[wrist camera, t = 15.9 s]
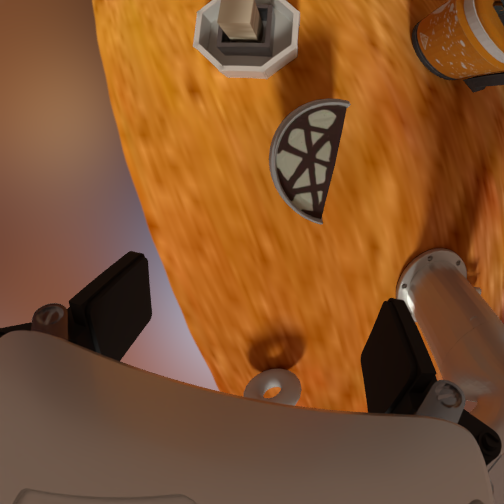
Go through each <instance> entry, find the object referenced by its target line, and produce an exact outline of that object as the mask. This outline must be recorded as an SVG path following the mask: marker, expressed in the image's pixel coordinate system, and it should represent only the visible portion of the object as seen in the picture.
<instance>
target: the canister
mask: <svg viewBox="0 0 504 504" xmlns="http://www.w3.org/2000/svg"><path fill="white" fill-rule="evenodd" d="M412 42H413V46H414V49H415V52H416V54H417V56H418V57H419V59H420V61H421V62H422V63H423V64H424V66H425V67H426V68H427V69H428V70H430V71H431V72H432V73H433V74H435V75H436V76H438V77H440V78H443V79H447V80H456V79H461V78H466V77H471V76H475V77H472V78H468V79H465V80H463V81H464V82H465V83H466V84H467V85H468V87H469V88H470V89H471V90H472V92H473V93H474V92H477V91H480V90H483V89H485V87H486V86H495V85H504V72H502V71H504V0H449V1H448V2H446V3H445V4H444V5H442V6H441V7H439V8H438V9H437V10H435V11H434V12H432V13H431V14H430V15H428V16H427V17H426V18H424V19H423V20H422V21H420V22H419V23H418V24H417V25H416V26H415V27H414V30H413V33H412ZM495 72H501V73H495ZM489 73H494V74H489ZM483 74H487V75H483ZM477 75H481V76H477Z"/></svg>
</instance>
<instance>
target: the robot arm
mask: <svg viewBox="0 0 504 504" xmlns="http://www.w3.org/2000/svg"><path fill="white" fill-rule="evenodd" d="M480 294H481V289H480V288H479V287H473V286H472V285H471V284H470V282H469V281H468V280H467V270H466V267H465V264H464V262H463V260H462V259H461V258H460V257H459V256H458V255H457V254H456V253H455V252H453V251H451V250H449V249H444V248H437V249H432V250H428V251H426V252H424V253H422V254H421V255H419V256H418V257H416V258H415V259H414V260H413V261H412V262H411V263H410V264H409V265H408V266H407V267H406V269H405V270H404V271H403V273H402V275H401V277H400V279H399V282H398V284H397V289H396V299H394V298H390V299H389V300H388V301H384V303H383V304H382V307H381V310H380V312H379V315H378V317H377V319H376V322H375V324H374V327H373V329H372V331H371V334H370V336H369V338H368V340H367V343H366V345H365V347H364V349H363V351H362V354H361V366H362V372H363V378H364V385H365V392H366V399H367V407H368V413H363V412H350V411H337V410H326V409H317V408H308V407H301V406H294V405H287V404H280V403H274V402H268V401H263V400H257V399H252V398H247V397H242V396H237V395H233V394H228V393H224V392H219V391H215V390H211V389H207V388H203V387H199V386H195V385H192V384H188V383H185V382H181V381H178V380H174V379H171V378H168V377H164V376H161V375H158V374H155V373H152V372H148V371H146V370H143V369H140V368H137V367H134V366H131V365H128V364H126V363H123V362H120V360H121V359H122V357H123V356H124V355H125V353H126V352H127V351H128V349H129V348H130V346H131V345H132V344H133V342H134V341H135V340H136V338H137V337H138V336H139V334H140V333H141V332H142V330H143V329H144V327H145V326H146V325H147V324H148V322H149V321H150V319H151V316H152V308H151V297H150V285H149V271H148V260H147V259H146V258H145V256H144V254H142V253H137V252H132V251H130V252H128V253H127V254H125V255H124V256H123V257H122V258H120V259H119V260H118V261H117V262H116V263H114V264H113V265H111V266H110V267H109V268H108V269H107V270H105V271H104V272H103V273H102V274H100V275H99V276H98V277H97V278H95V280H93V281H92V282H91V283H89V284H88V285H87V286H86V287H85V288H83V289H82V290H81V291H80V292H79V293H78V294H76V295H75V296H74V297H73V298H72V299H71V300H69V304H70V307H69V308H68V309H66V307H64V306H63V305H61V304H57V303H56V304H55V303H54V304H47V305H45V306H42V307H41V308H39V309H38V310H36V312H35V313H34V315H33V318H32V323H26V324H21V325H16V326H10V327H5V328H0V504H504V324H503V323H502V322H501V320H500V319H499V318H498V316H497V315H496V314H495V313H494V311H493V310H492V309H491V308H490V306H489V305H488V304H487V303H486V301H485V300H484V299H483V298H482V296H481V295H480ZM415 322H418V324H419V326H420V328H421V330H422V333H423V335H424V337H425V339H426V341H427V343H428V345H429V347H430V350H431V352H432V354H433V356H434V358H435V361H436V363H437V365H438V368H439V370H440V372H441V375H442V377H443V380H439V381H437V379H436V376H435V375H436V371H435V368H434V366H433V363H432V361H431V358H430V356H429V354H428V351H427V349H426V347H425V344H424V342H423V340H422V337H421V335H420V333H419V331H418V328H417V326H416V324H415ZM466 400H468V401H473V402H478V403H477V405H476V407H475V408H474V409H473V410H472V411H471V412H470V413H469V412H467V411H466V410H464V406H465V401H466Z"/></svg>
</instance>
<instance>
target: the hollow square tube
mask: <svg viewBox="0 0 504 504" xmlns="http://www.w3.org/2000/svg"><path fill="white" fill-rule="evenodd" d="M256 6H257V8H258V11H259V14H260V17H261V20H262V21H267V24H266V36H265V43H231V40H230V38H229V37H228V36H227V35H226V33H225V32H224V31H223V30H222V28H221V27H220V26H218V35H217V45H216V47H217V48H218V49H219V50H220V51H221V52H222V53H223V54H224V55H225V56H266V57H272V55H273V43H274V30H275V13H274V8H273V5H257V4H256Z"/></svg>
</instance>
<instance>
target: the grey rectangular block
mask: <svg viewBox="0 0 504 504" xmlns="http://www.w3.org/2000/svg"><path fill="white" fill-rule="evenodd" d="M217 23H218V25H219V26H220V27H221V28H222V30H223V31H224V32H225V33H226V35H227V36H228V37H229V38H230V40H231V41H232V42H233V43H262V38H263V31H264V26H263V23H262V20H261V17H260V14H259V11H258V8H257V6H256V3H255V0H221V3H220V8H219V14H218V20H217Z"/></svg>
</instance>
